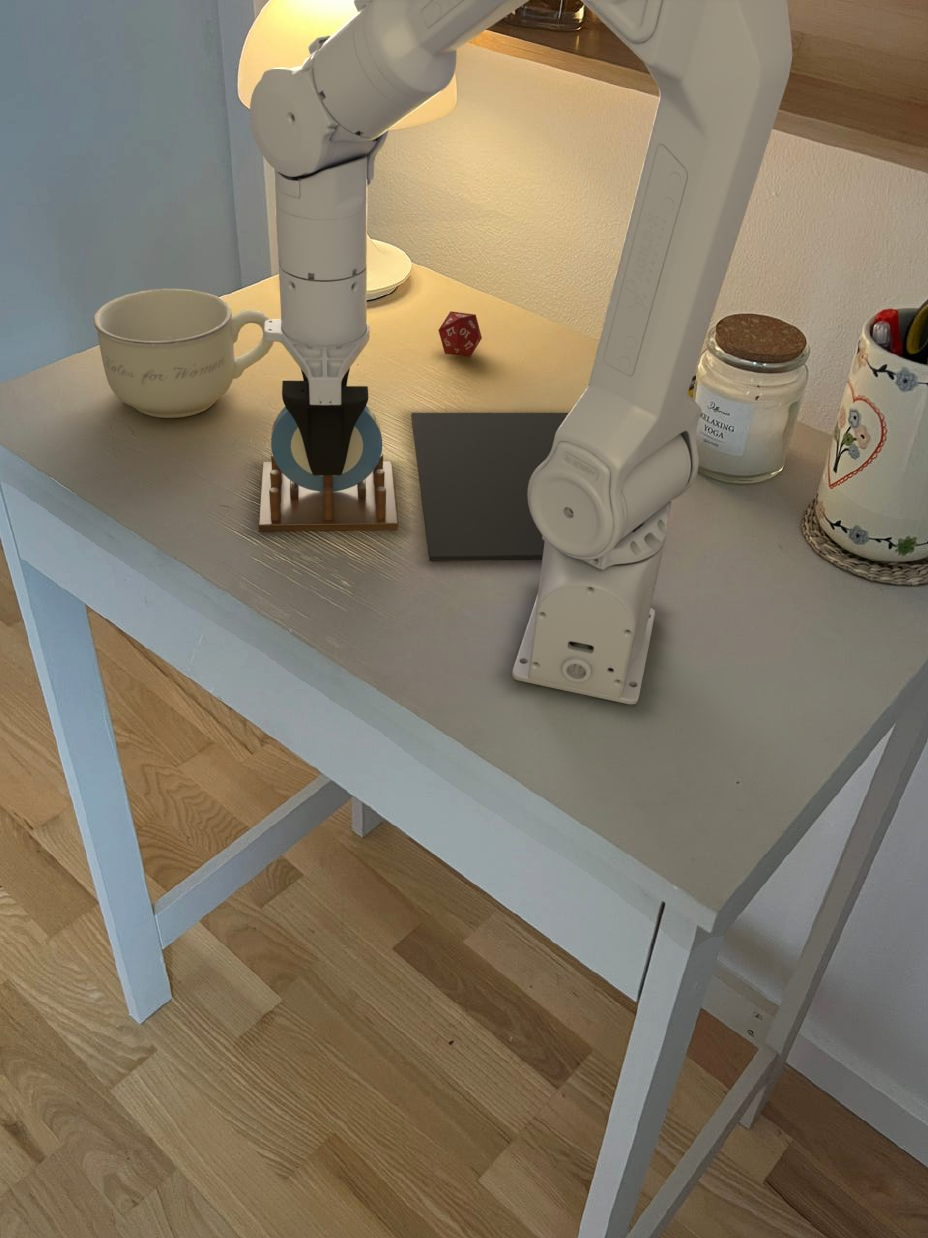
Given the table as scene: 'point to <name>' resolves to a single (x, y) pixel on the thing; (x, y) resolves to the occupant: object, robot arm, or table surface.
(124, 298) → the teacup
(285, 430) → the plate
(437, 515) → the placemat
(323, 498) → the rack
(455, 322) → the dice
